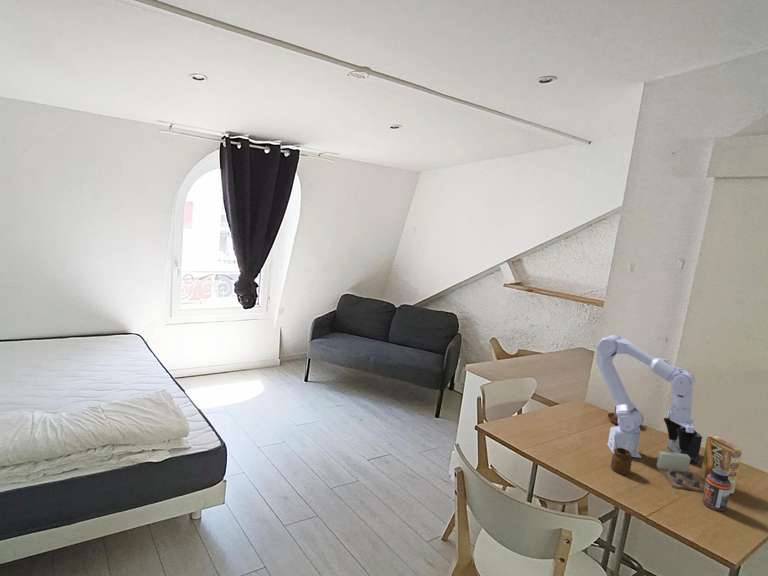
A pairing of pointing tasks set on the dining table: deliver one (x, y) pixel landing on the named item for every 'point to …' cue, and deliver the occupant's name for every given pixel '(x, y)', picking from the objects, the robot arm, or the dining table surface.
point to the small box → (692, 449)
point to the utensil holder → (621, 460)
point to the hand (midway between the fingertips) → (678, 444)
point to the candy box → (721, 459)
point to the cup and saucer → (613, 417)
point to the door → (673, 461)
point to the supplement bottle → (717, 490)
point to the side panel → (683, 480)
